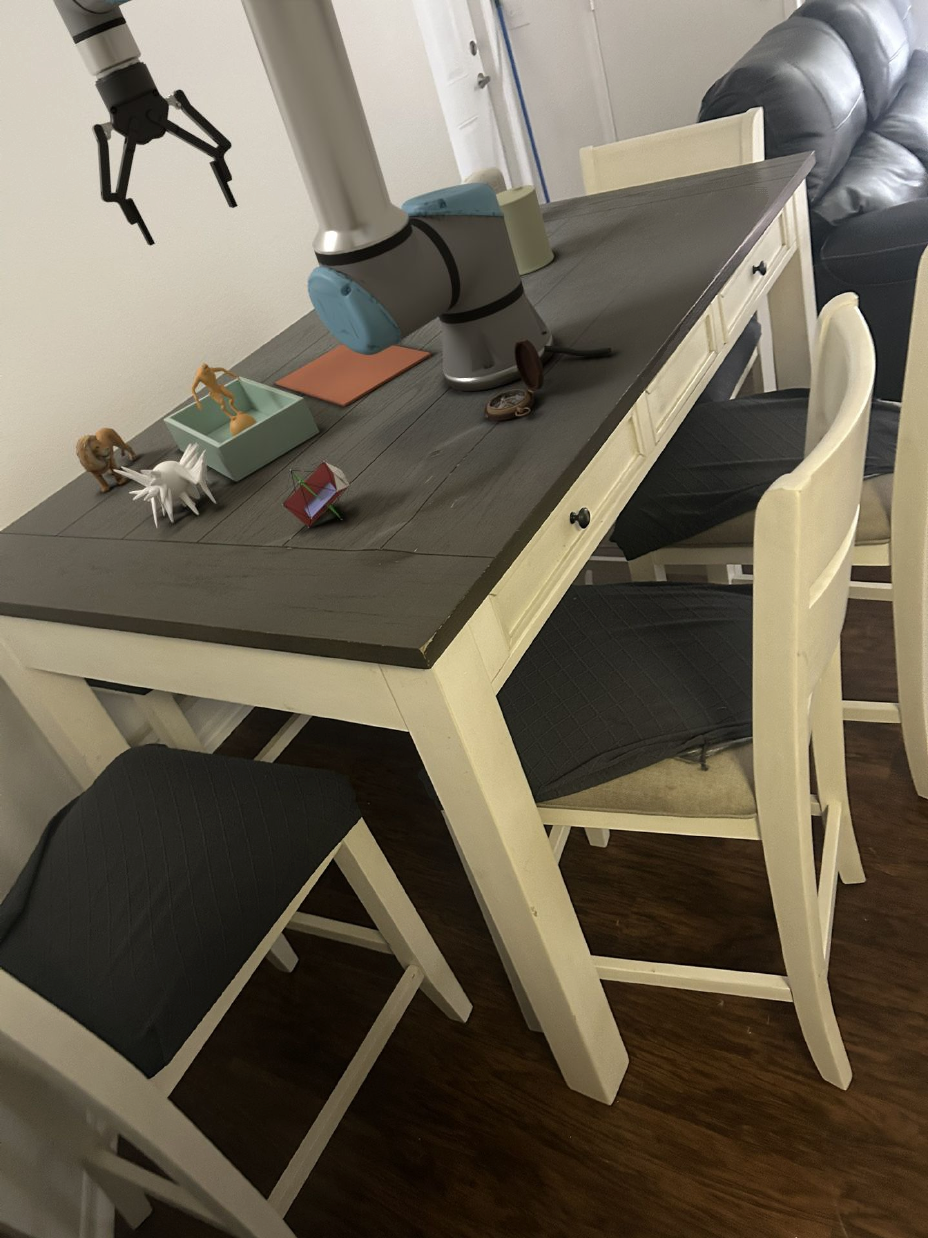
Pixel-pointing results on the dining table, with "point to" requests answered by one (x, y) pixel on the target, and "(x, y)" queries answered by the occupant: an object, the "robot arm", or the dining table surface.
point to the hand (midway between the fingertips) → (193, 225)
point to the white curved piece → (488, 178)
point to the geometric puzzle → (317, 493)
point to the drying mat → (350, 373)
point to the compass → (517, 399)
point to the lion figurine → (102, 454)
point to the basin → (249, 450)
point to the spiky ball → (173, 481)
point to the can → (525, 228)
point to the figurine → (209, 380)
